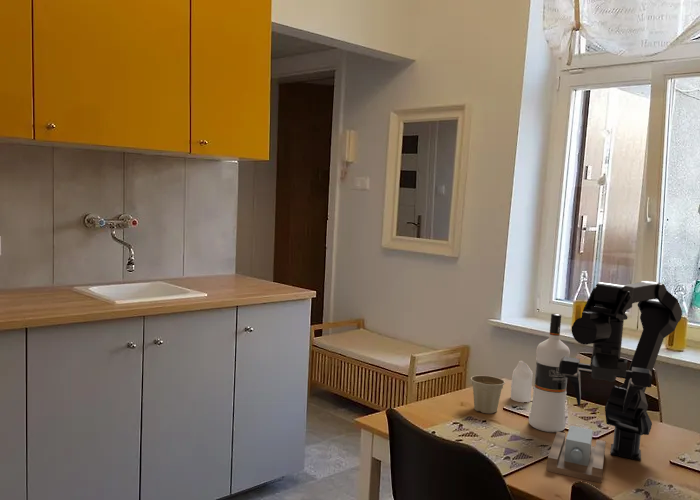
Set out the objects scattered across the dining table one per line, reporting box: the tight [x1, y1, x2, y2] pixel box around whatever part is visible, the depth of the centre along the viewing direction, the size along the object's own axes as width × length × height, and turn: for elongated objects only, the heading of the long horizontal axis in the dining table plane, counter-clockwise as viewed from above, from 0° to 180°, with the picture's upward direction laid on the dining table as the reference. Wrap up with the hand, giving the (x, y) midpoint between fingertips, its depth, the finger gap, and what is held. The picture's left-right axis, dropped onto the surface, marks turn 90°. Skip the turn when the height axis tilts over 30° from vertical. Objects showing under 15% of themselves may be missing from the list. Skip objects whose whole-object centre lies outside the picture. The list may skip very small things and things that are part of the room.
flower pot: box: [470, 374, 506, 414], centre depth 171 cm, size 9×9×9 cm
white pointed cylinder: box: [510, 360, 534, 403], centre depth 183 cm, size 6×12×6 cm
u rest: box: [546, 431, 606, 484], centre depth 139 cm, size 18×11×3 cm, turn 155°
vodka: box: [528, 313, 571, 433], centre depth 160 cm, size 9×9×30 cm
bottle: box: [564, 425, 594, 466], centre depth 138 cm, size 13×5×5 cm, turn 155°
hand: (600, 409), depth 136 cm, fingers open, 9 cm apart
